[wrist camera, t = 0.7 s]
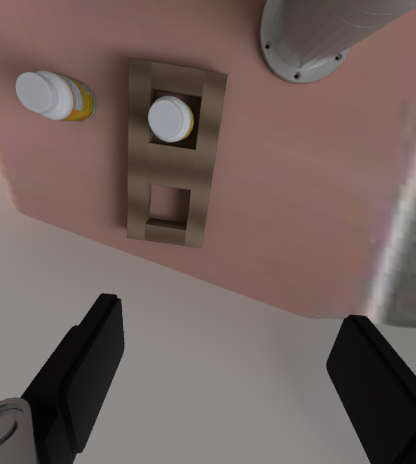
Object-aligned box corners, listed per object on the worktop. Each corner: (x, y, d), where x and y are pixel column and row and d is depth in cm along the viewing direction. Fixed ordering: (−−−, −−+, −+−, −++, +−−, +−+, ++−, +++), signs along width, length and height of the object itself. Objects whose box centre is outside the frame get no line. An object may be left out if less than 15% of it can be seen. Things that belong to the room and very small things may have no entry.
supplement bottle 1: (63, 119, 37) (14, 116, 28) (57, 79, 35) (2, 61, 26) (98, 123, 37) (60, 121, 28) (94, 83, 35) (52, 66, 26)
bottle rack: (135, 63, 33) (128, 57, 31) (226, 78, 34) (227, 74, 31) (132, 230, 44) (127, 237, 41) (202, 240, 44) (201, 248, 41)
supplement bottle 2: (184, 94, 35) (174, 82, 26) (201, 129, 37) (196, 130, 28) (153, 112, 36) (133, 107, 27) (170, 146, 38) (157, 151, 29)
